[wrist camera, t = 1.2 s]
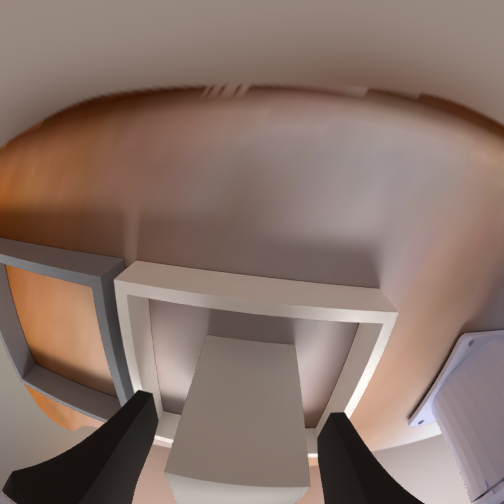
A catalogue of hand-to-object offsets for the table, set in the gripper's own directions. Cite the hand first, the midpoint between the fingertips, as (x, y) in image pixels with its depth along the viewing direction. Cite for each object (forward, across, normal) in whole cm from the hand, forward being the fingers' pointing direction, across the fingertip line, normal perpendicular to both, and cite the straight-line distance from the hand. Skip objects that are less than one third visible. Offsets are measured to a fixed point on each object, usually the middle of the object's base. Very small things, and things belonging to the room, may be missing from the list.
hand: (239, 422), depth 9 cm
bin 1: (+3, +11, 0) cm, 11 cm away
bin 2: (+3, 0, 0) cm, 3 cm away
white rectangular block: (+3, 0, 0) cm, 3 cm away
